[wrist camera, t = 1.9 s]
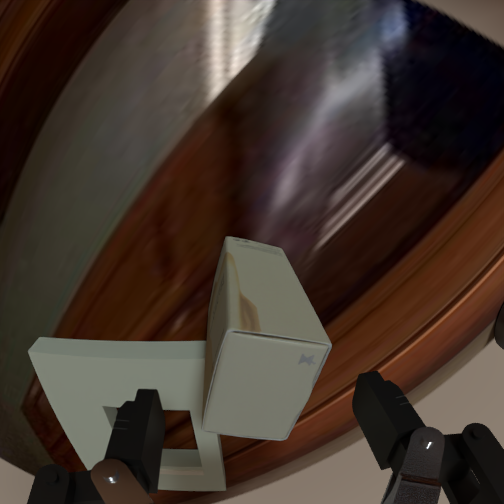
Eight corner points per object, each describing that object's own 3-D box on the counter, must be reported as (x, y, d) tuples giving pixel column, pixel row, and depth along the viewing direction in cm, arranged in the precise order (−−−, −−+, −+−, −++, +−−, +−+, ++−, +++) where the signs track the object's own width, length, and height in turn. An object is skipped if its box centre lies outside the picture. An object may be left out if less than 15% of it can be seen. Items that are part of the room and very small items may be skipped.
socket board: (208, 340, 25) (207, 360, 23) (225, 474, 31) (226, 492, 29) (39, 336, 24) (26, 352, 21) (99, 466, 30) (95, 482, 27)
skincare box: (224, 234, 23) (226, 319, 11) (283, 247, 23) (338, 337, 12) (206, 313, 24) (197, 435, 13) (260, 323, 25) (287, 444, 13)
